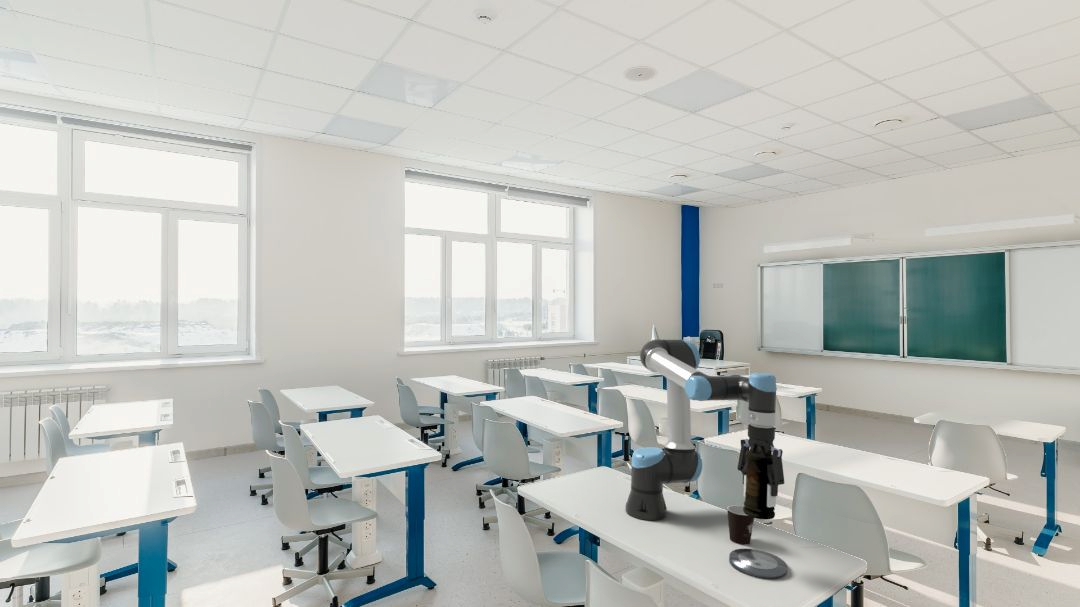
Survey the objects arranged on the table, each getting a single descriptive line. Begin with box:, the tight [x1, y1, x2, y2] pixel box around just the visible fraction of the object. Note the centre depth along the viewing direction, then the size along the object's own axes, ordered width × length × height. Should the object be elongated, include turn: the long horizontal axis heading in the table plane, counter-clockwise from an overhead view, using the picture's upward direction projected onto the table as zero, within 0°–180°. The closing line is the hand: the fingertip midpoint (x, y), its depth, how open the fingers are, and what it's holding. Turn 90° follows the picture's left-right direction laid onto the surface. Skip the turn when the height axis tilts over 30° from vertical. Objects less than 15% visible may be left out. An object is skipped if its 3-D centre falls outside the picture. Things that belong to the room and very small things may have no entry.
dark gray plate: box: [728, 548, 788, 580], centre depth 156 cm, size 16×16×2 cm
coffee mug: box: [726, 504, 755, 546], centre depth 174 cm, size 12×9×10 cm
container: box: [743, 451, 776, 520], centre depth 157 cm, size 9×9×18 cm
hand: (759, 501), depth 157 cm, fingers closed on container, 8 cm apart
